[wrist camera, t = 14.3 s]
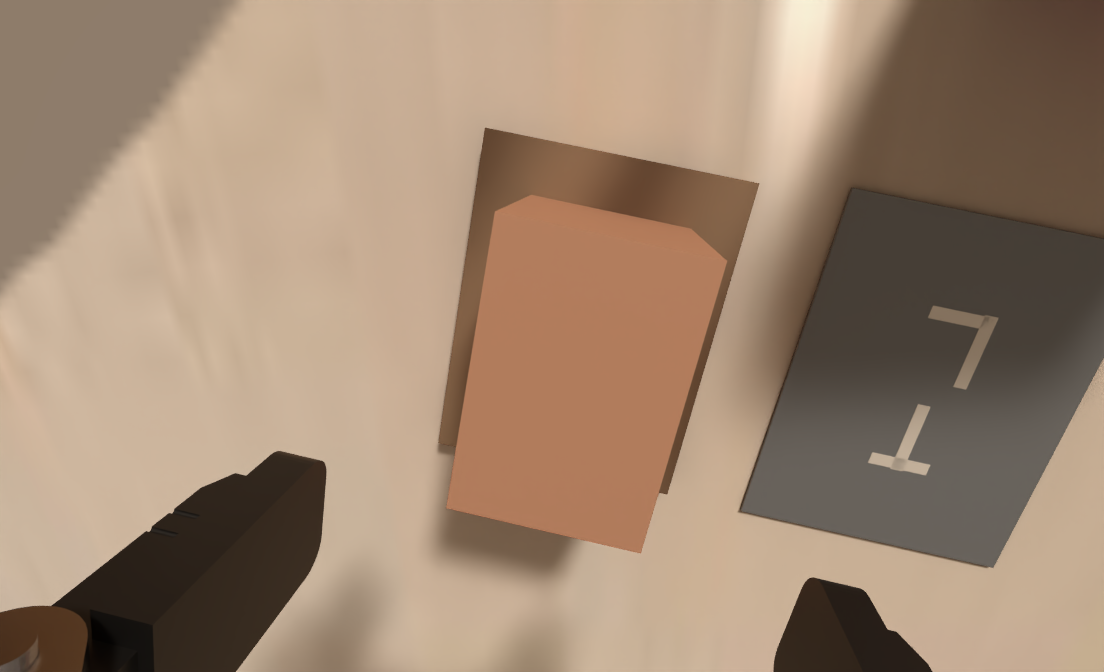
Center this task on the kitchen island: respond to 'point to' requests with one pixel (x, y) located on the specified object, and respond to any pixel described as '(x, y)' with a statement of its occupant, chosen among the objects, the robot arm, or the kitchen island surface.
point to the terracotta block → (580, 368)
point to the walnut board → (601, 184)
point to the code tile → (932, 377)
